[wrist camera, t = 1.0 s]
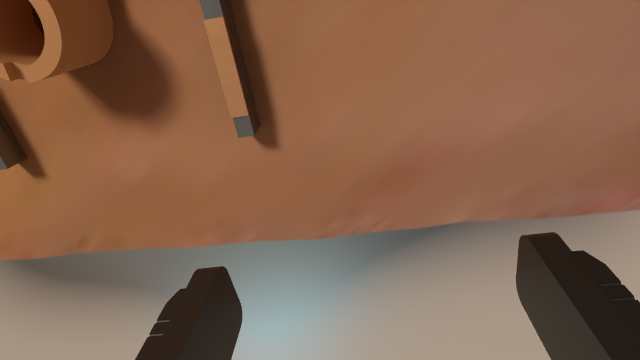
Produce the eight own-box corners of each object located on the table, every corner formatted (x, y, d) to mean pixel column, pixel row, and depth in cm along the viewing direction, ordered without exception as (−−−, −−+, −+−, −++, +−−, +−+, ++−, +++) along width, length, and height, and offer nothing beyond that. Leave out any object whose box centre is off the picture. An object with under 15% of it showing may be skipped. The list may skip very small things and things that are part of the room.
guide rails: (-136, -91, 29) (-181, -98, 27) (186, -173, 26) (169, -189, 23) (13, 160, 39) (-9, 171, 37) (260, 126, 36) (254, 136, 33)
